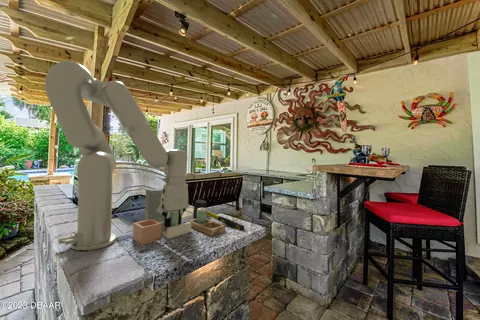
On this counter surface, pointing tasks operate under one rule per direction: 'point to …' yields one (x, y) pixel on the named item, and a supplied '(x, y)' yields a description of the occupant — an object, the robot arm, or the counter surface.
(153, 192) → the skincare box
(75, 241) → the robot arm
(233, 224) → the mallet
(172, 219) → the cylinder
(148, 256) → the counter surface
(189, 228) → the cradle
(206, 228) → the trough
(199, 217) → the cylinder
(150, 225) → the orange open box
